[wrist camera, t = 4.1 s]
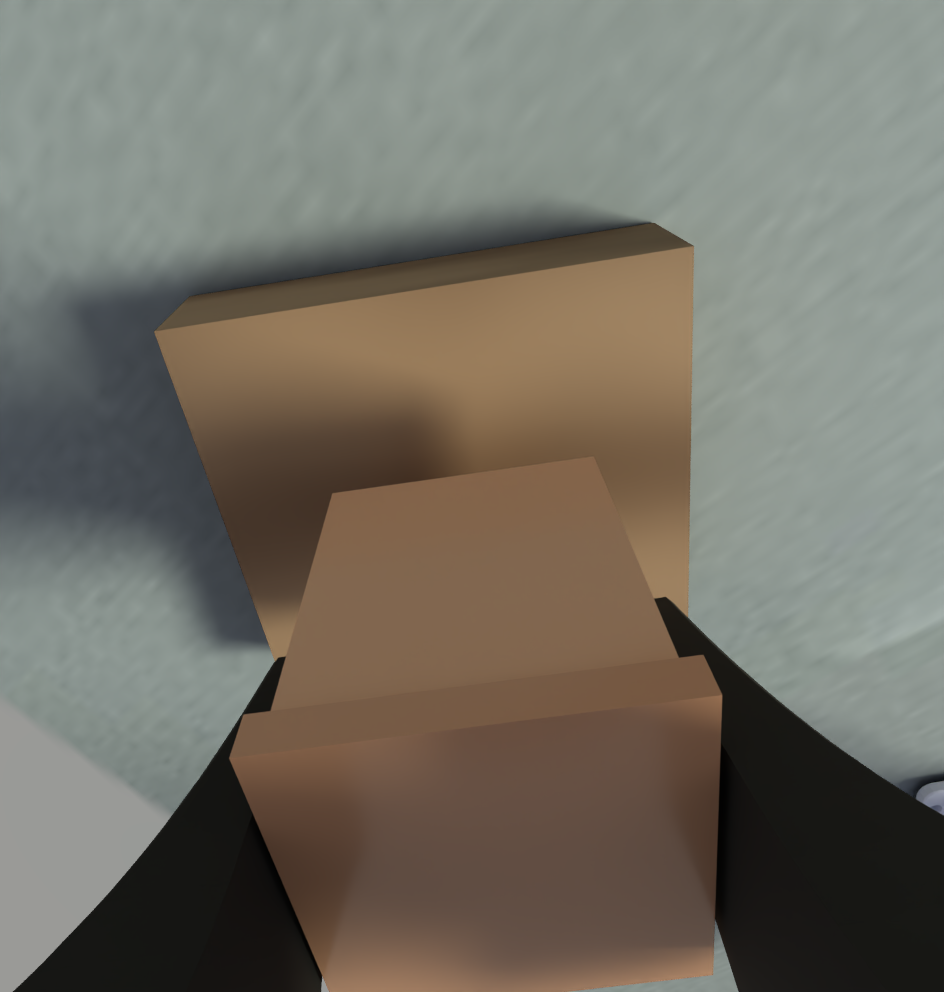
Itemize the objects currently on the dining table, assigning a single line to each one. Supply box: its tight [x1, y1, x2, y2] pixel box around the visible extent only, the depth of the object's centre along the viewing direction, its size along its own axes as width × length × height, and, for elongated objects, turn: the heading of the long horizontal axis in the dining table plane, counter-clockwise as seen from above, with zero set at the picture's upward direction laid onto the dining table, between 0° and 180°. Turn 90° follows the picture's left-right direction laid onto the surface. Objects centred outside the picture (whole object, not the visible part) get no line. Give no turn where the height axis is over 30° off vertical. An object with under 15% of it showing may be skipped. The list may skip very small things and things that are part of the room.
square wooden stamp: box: [229, 456, 722, 992], centre depth 11 cm, size 5×5×6 cm
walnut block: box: [154, 223, 694, 661], centre depth 17 cm, size 10×10×2 cm
